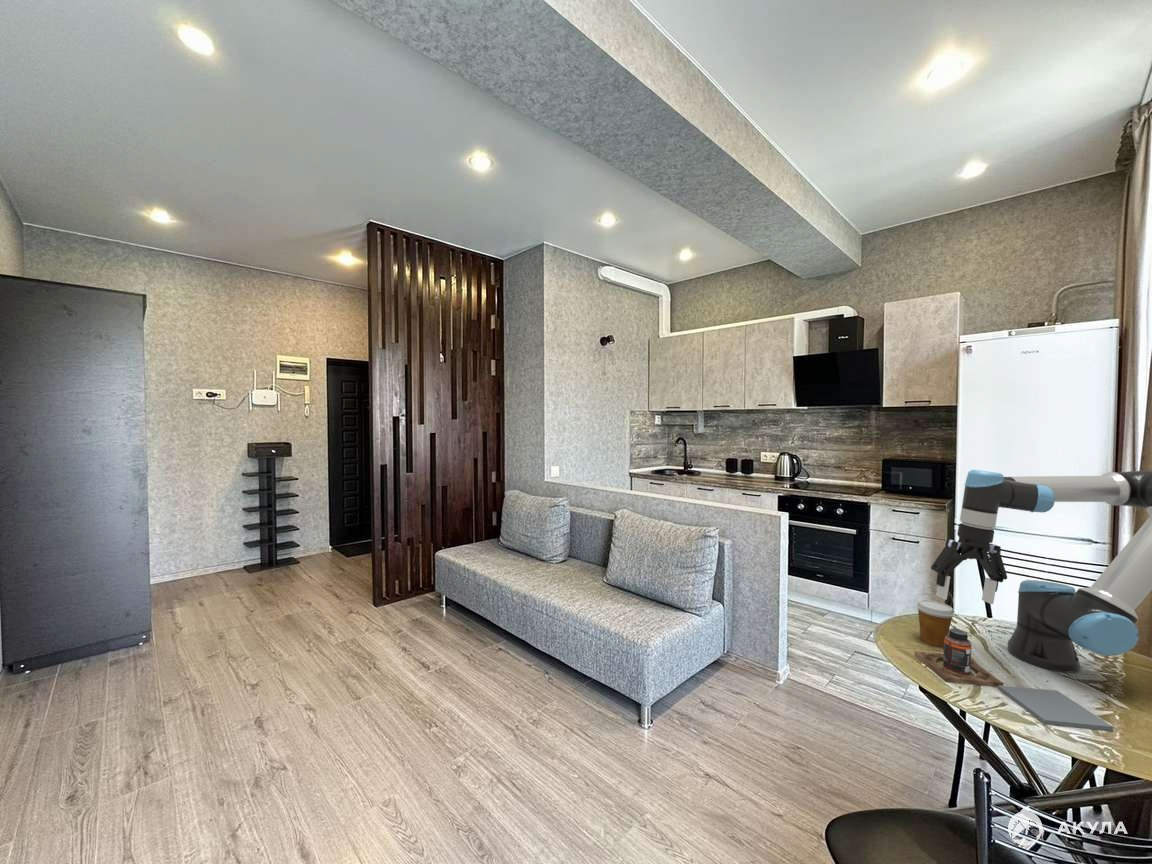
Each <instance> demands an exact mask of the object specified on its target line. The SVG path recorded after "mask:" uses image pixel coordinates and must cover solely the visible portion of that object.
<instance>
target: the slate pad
mask: <svg viewBox="0 0 1152 864" xmlns="http://www.w3.org/2000/svg"><path fill="white" fill-rule="evenodd" d="M997 689H998V690H999V691H1000V692H1001V693H1003V694H1004V695H1006V696H1007V697H1008V698H1009V699H1011V700H1012V701H1014V702H1015V703H1016V704H1017V705H1018V706H1020V707H1021V708H1022V709H1024V710H1025V711H1027V712H1028V713H1029V714H1030V715H1032V717H1034V718H1036V719H1037V720H1038V721H1040V722H1041V723H1043V724H1044V725H1050V726H1059V727H1069V728H1080V729H1088V730H1098V731H1108V732H1109V731H1110V732H1113V731H1114V726H1113V725H1111V724H1109V723H1108V722H1106V721H1105V720H1104V719H1102V718H1100V717H1098V716H1097V715H1096V714H1094V713H1093V712H1091V711H1090V710H1088V709H1086V708H1085V707H1084V706H1082V705H1081V704H1079V703H1078V702H1076V701H1075V700H1072V699H1071V698H1070V697H1068V696H1066V695H1065V694H1064V693H1062V692H1061V691H1059V690H1055V689H1054V690H1053V689H1041V688H1031V687H1023V686H1022V687H1021V686H1010V685H1003V686H1002V685H998V687H997Z"/></svg>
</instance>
